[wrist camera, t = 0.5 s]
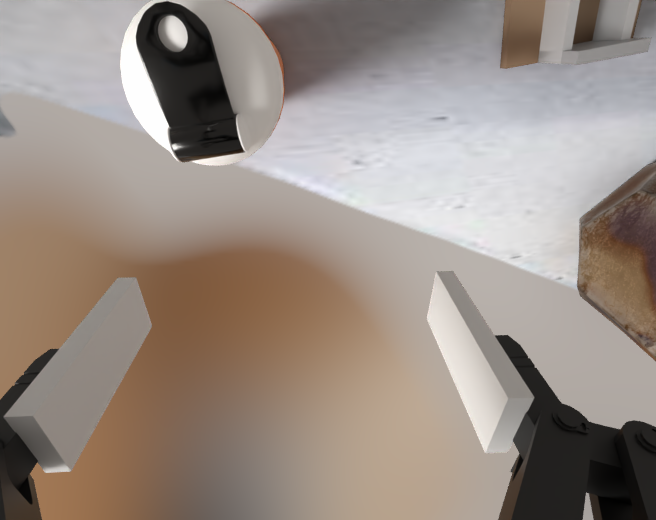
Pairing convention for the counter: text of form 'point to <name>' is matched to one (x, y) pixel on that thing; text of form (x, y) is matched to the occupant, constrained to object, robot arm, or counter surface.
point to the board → (540, 29)
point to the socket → (607, 39)
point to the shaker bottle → (202, 79)
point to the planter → (623, 258)
